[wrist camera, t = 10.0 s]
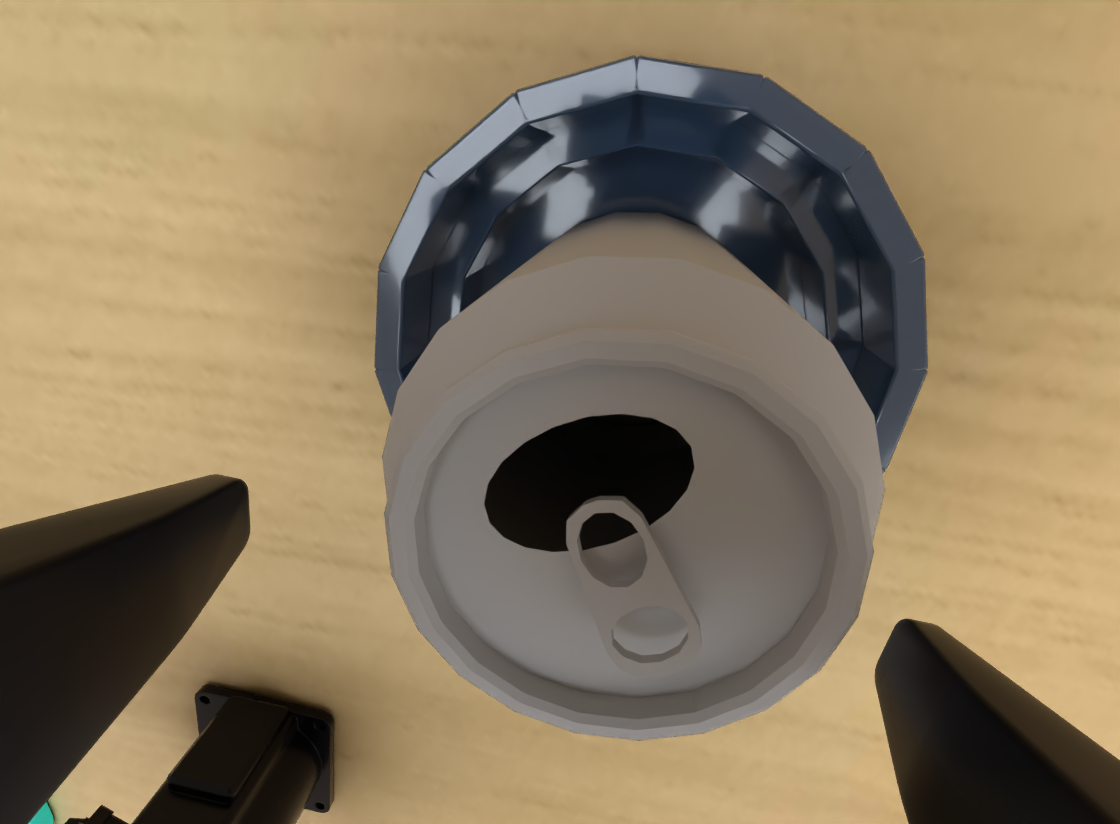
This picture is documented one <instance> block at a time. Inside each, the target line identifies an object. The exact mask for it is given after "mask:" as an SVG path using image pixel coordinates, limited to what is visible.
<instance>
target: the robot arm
mask: <svg viewBox="0 0 1120 824" xmlns="http://www.w3.org/2000/svg"><path fill="white" fill-rule="evenodd" d="M249 534H250V514H249V494H248V487H247V485H246V483H245V482H244V481H243V480H241V479H237V478H233V477H228V476H223V475H218V474H213V475H209V476H205V477H201V478H197V479H193V480H189V481H185V482H181V483H177V484H174V485H170V486H166V487H162V488H158V489H154V490H150V491H146V492H142V493H138V494H134V495H131V496H127V497H123V498H119V499H115V500H111V501H107V502H103V503H99V504H95V505H91V506H88V507H84V508H80V509H76V510H72V511H68V512H64V513H60V514H56V515H52V516H49V517H45V518H41V519H37V520H33V521H29V522H25V523H21V524H17V525H13V526H9V527H6V528H2V529H0V824H28V823H29V822H30V821H31V820H32V818H33V817H34V816H35V815H36V814H37V812H38V811H39V810H40V809H41V808H42V806H43V805H44V804H45V803H46V802H47V800H48V799H49V798H50V797H51V796H52V794H53V793H54V792H55V791H56V790H57V788H58V787H59V786H60V785H61V784H62V782H63V781H64V780H65V779H66V778H67V776H68V775H69V774H70V773H71V772H72V770H73V769H74V768H75V767H76V766H77V764H78V763H79V762H80V761H81V760H82V758H83V757H84V756H85V755H86V754H87V752H88V751H89V750H90V749H91V748H92V746H93V745H94V744H95V743H96V742H97V741H98V739H99V738H100V737H101V736H102V735H103V733H104V732H105V731H106V730H107V729H108V727H109V726H110V725H111V724H112V723H113V721H114V720H115V719H116V718H117V717H118V715H119V714H120V713H121V712H122V711H123V709H124V708H125V707H126V706H127V705H128V703H129V702H130V701H131V700H132V699H133V697H134V696H135V695H136V694H137V693H138V691H139V690H140V689H141V688H142V687H143V685H144V684H145V683H146V682H147V681H148V679H149V678H150V677H151V676H152V675H153V673H154V672H155V671H156V670H157V669H158V667H159V666H160V665H161V664H162V663H163V661H164V660H165V659H166V658H167V657H168V655H169V654H170V653H171V652H172V650H173V649H174V648H175V647H176V645H177V644H178V643H179V642H180V640H181V639H182V638H183V636H184V635H185V634H186V632H187V631H188V629H189V628H190V627H191V625H192V624H193V623H194V621H195V620H196V618H197V617H198V615H199V614H200V612H201V611H202V609H203V608H204V606H205V605H206V603H207V602H208V601H209V599H210V598H211V596H212V595H213V593H214V592H215V590H216V589H217V587H218V586H219V584H220V583H221V581H222V580H223V578H224V577H225V576H226V574H227V573H228V571H229V570H230V568H231V567H232V565H233V564H234V562H235V561H236V559H237V558H238V556H239V555H240V553H241V552H242V551H243V549H244V547H245V546H246V544H247V541H248V538H249ZM875 684H876V689H877V693H878V698H879V702H880V707H881V711H882V716H883V721H884V725H885V730H886V734H887V739H888V743H889V748H890V752H891V757H892V761H893V766H894V770H895V775H896V779H897V784H898V787H899V791H900V795H901V799H902V803H903V806H904V810H905V813H906V816H907V819H908V823H909V824H1120V760H1119V759H1117V758H1116V757H1115V756H1113V755H1112V754H1111V753H1109V752H1108V751H1106V750H1105V749H1104V748H1102V747H1101V746H1100V745H1098V744H1097V743H1096V742H1094V741H1093V740H1092V739H1090V738H1089V737H1088V736H1086V735H1085V734H1083V733H1082V732H1081V731H1079V730H1078V729H1077V728H1075V727H1074V726H1073V725H1071V724H1070V723H1069V722H1067V721H1066V720H1065V719H1063V718H1062V717H1061V716H1059V715H1058V714H1056V713H1055V712H1054V711H1052V710H1051V709H1050V708H1048V707H1047V706H1046V705H1044V704H1043V703H1042V702H1040V701H1039V700H1038V699H1036V698H1035V697H1033V696H1032V695H1031V694H1029V693H1028V692H1027V691H1025V690H1024V689H1023V688H1021V687H1020V686H1019V685H1017V684H1016V683H1015V682H1013V681H1012V680H1011V679H1009V678H1008V677H1006V676H1005V675H1004V674H1002V673H1001V672H1000V671H998V670H997V669H996V668H994V667H993V666H992V665H990V664H989V663H988V662H986V661H985V660H984V659H982V658H981V657H979V656H978V655H977V654H975V653H974V652H973V651H971V650H970V649H969V648H967V647H966V646H965V645H963V644H962V643H961V642H959V641H958V640H956V639H955V638H954V637H952V636H951V635H950V634H948V633H947V632H946V631H944V630H943V629H942V628H940V627H939V626H937V625H934V624H931V623H926V622H922V621H917V620H912V619H903V620H900V621H899V622H898V623H897V624H896V625H895V627H894V629H893V631H892V633H891V635H890V637H889V639H888V641H887V643H886V646H885V648H884V650H883V652H882V654H881V656H880V658H879V660H878V662H877V665H876V669H875ZM195 703H196V712H197V721H198V729H199V737H198V738H197V739H196V741H195V742H194V743H193V744H192V746H191V747H190V748H189V750H188V751H187V752H186V753H185V755H184V756H183V757H182V758H181V760H180V761H179V762H178V764H177V765H176V766H175V767H174V769H173V770H172V771H171V772H170V774H169V775H168V777H167V779H166V781H165V782H164V783H163V784H162V786H161V787H160V788H159V789H158V791H157V792H156V793H155V795H154V796H153V797H152V798H151V800H150V801H149V802H148V803H147V805H146V806H145V807H144V809H143V810H142V811H141V812H140V814H139V815H138V816H137V818H136V819H135V820H134V821H133V823H132V824H296V822H297V820H298V819H299V817H300V815H301V813H302V811H303V809H308V810H312V811H316V812H321V813H325V812H328V811H329V809H330V807H331V805H332V803H333V800H334V718H333V717H332V715H330V714H329V713H327V712H324V711H320V710H316V709H312V708H307V707H303V706H299V705H294V704H290V703H286V702H281V701H277V700H273V699H268V698H264V697H260V696H255V695H251V694H247V693H242V692H238V691H234V690H229V689H225V688H221V687H216V686H212V685H204V686H202V688H201V689H200V690H199V691H198V692H197V693H196V694H195ZM113 813H114V811H112V810H110V809H108V808H107V807H105V806H103V805H101V806H100V807H99V808H98V809H97V810H96V812H95V813H94V814H93V815H92V816H91V817H90V818H87V817H86V819H80V818H69V819H68V821H67V822H66V823H65V824H128V823H126V822H125V821H123V820H121V819H119V818H118V817H116V816H114V815H112V814H113Z"/></svg>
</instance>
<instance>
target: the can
mask: <svg viewBox="0 0 1120 824" xmlns="http://www.w3.org/2000/svg"><path fill="white" fill-rule="evenodd" d="M382 459H383V468H384V476H385V485H386V494H387V504H386V508H385V512H384V517H385V526H386V534H387V543H388V551H389V560H390V568H391V575H392V577H393V579H394V581H395V583H396V585H397V587H398V590H399V592H400V594H401V596H402V598H403V600H404V602H405V604H406V606H407V608H408V610H409V612H410V615H411V617H412V619H413V621H414V623H415V625H416V627H417V629H418V630H419V632H420V633H421V634H422V635H423V636H424V637H425V638H426V639H427V640H428V641H429V643H430V644H431V645H432V646H433V647H434V648H435V649H436V650H437V651H438V652H439V654H440V655H441V656H442V657H443V658H444V659H445V660H446V661H447V662H448V664H449V665H450V666H451V667H452V668H453V669H454V670H455V671H456V672H457V673H458V675H459V676H461V677H462V678H464V679H465V680H467V681H468V682H470V683H471V684H473V685H475V686H476V687H478V688H479V689H481V690H482V691H484V692H485V693H487V694H488V695H490V696H491V697H493V698H494V699H496V700H498V701H499V702H501V703H502V704H504V705H505V706H507V707H508V708H510V709H511V710H513V711H514V712H517V713H520V714H523V715H526V716H528V717H531V718H534V719H537V720H540V721H542V722H545V723H548V724H551V725H554V726H556V727H559V728H562V729H565V730H568V731H570V732H573V733H579V734H587V735H596V736H604V737H612V738H621V739H629V740H638V741H640V740H649V739H658V738H667V737H676V736H685V735H694V734H702V733H706V732H709V731H711V730H714V729H717V728H719V727H722V726H725V725H727V724H730V723H733V722H735V721H738V720H741V719H743V718H746V717H749V716H751V715H754V714H757V713H759V712H762V711H765V710H767V709H769V708H770V707H772V706H773V705H774V704H776V703H777V702H778V701H780V700H781V699H782V698H784V697H785V696H786V695H788V694H789V693H791V692H792V691H793V690H795V689H796V688H797V687H799V686H800V685H801V684H803V683H804V682H805V681H807V680H808V679H809V678H811V677H812V676H813V675H815V674H816V673H817V672H819V671H820V670H821V669H822V667H823V666H824V665H825V663H826V662H827V660H828V659H829V657H830V656H831V655H832V653H833V652H834V650H835V649H836V647H837V646H838V645H839V643H840V642H841V640H842V639H843V637H844V636H845V635H846V633H847V632H848V630H849V629H850V627H851V626H852V625H853V623H854V622H855V620H856V619H857V617H858V615H859V611H860V607H861V603H862V599H863V594H864V590H865V586H866V582H867V578H868V574H869V570H870V566H871V562H872V558H873V554H874V549H873V543H872V542H873V537H874V533H875V529H876V525H877V521H878V517H879V513H880V509H881V504H882V500H883V496H884V492H885V487H884V480H883V473H882V466H881V459H880V452H879V445H878V438H877V432H876V425H875V418H874V414H873V413H872V411H871V409H870V407H869V406H868V404H867V402H866V401H865V399H864V397H863V395H862V394H861V392H860V390H859V388H858V387H857V385H856V383H855V381H854V380H853V378H852V376H851V375H850V373H849V371H848V369H847V368H846V366H845V364H844V362H843V361H842V359H841V357H840V356H839V354H838V352H837V350H836V349H835V347H834V345H833V344H832V343H831V342H829V341H828V340H827V339H826V338H825V337H824V336H823V335H822V334H821V333H819V332H818V331H817V330H816V329H815V328H814V327H813V326H812V325H811V324H809V323H808V322H807V321H806V320H805V319H804V318H803V317H802V316H801V315H799V314H798V313H797V312H796V311H795V310H794V309H793V308H792V307H791V306H789V305H788V304H787V303H786V302H785V301H784V300H783V299H782V298H781V297H779V296H778V295H777V294H776V293H775V292H774V291H773V290H772V289H771V288H770V287H768V286H767V285H766V284H765V283H764V282H763V281H762V280H761V279H760V278H758V277H757V276H756V275H755V274H754V273H753V272H752V271H751V270H750V269H748V268H747V267H746V266H745V265H744V264H743V263H742V262H741V261H740V260H738V259H737V258H736V257H735V256H734V255H733V254H732V253H730V252H729V251H728V250H727V249H726V248H724V247H723V246H722V245H721V244H719V243H718V242H717V241H716V240H715V239H713V238H712V237H711V236H710V235H709V234H707V233H706V232H705V231H704V230H702V229H701V228H700V227H697V226H695V225H692V224H689V223H686V222H684V221H681V220H678V219H675V218H673V217H670V216H667V215H664V214H662V213H647V212H615V213H612V214H608V215H605V216H602V217H599V218H596V219H593V220H590V221H587V222H583V223H580V224H577V225H575V226H574V227H572V228H571V229H570V230H568V231H567V232H565V233H564V234H563V235H561V236H560V237H559V238H557V239H556V240H555V241H553V242H552V243H550V244H549V245H548V246H546V247H545V248H544V249H542V250H541V251H540V252H538V253H537V254H536V255H534V256H533V257H532V258H531V259H529V260H528V261H527V262H525V263H524V264H523V265H521V266H520V267H519V268H518V269H516V270H515V271H514V272H512V273H511V274H510V275H508V276H507V277H506V278H505V279H503V280H502V281H501V282H499V283H498V284H497V285H495V286H494V287H493V288H492V289H490V290H489V291H488V292H486V293H485V294H484V295H482V296H481V297H480V298H479V299H477V300H476V301H475V302H473V303H472V304H471V305H469V306H468V307H467V308H466V309H464V310H463V311H462V312H460V313H459V314H458V315H456V316H455V317H454V318H453V319H451V320H450V321H449V322H447V323H446V324H445V325H443V326H442V327H441V328H440V329H439V330H438V331H437V333H436V334H435V336H434V337H433V339H432V340H431V342H430V343H429V344H428V346H427V347H426V349H425V350H424V352H423V353H422V355H421V356H420V358H419V359H418V361H417V362H416V364H415V365H414V367H413V368H412V370H411V371H410V373H409V374H408V376H407V377H406V379H405V380H404V382H403V383H402V385H401V386H400V388H399V389H398V392H397V396H396V400H395V405H394V409H393V413H392V417H391V422H390V426H389V430H388V434H387V438H386V443H385V447H384V451H383V455H382Z"/></svg>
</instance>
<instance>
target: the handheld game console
mask: <svg viewBox="0 0 1120 824" xmlns="http://www.w3.org/2000/svg"><path fill="white" fill-rule="evenodd" d="M53 822H54V819H53V815H52V813H51V810H50V808H49V806H48V804H47V802H46V803H45V804H44V805H43V806H42V808H41V809H40V810H39V811H38V812H37V814H36V815H35V816H34V817H33V818H32V820H31V821H30V822H29V823H28V824H53Z"/></svg>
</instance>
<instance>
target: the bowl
mask: <svg viewBox="0 0 1120 824" xmlns="http://www.w3.org/2000/svg"><path fill="white" fill-rule="evenodd" d="M615 212H647V213H662V214H664V215H667V216H670V217H673V218H675V219H678V220H681V221H684V222H686V223H689V224H692V225H695V226H697V227H700V228H701V229H702V230H704V231H705V232H706V233H707V234H709V235H710V236H711V237H712V238H713V239H715V240H716V241H717V242H718V243H719V244H721V245H722V246H723V247H724V248H726V249H727V250H728V251H729V252H730V253H732V254H733V255H734V256H735V257H736V258H737V259H738V260H740V261H741V262H742V263H743V264H744V265H745V266H746V267H747V268H748V269H750V270H751V271H752V272H753V273H754V274H755V275H756V276H757V277H758V278H760V279H761V280H762V281H763V282H764V283H765V284H766V285H767V286H768V287H770V288H771V289H772V290H773V291H774V292H775V293H776V294H777V295H778V296H779V297H781V298H782V299H783V300H784V301H785V302H786V303H787V304H788V305H789V306H791V307H792V308H793V309H794V310H795V311H796V312H797V313H798V314H799V315H801V316H802V317H803V318H804V319H805V320H806V321H807V322H808V323H809V324H811V325H812V326H813V327H814V328H815V329H816V330H817V331H818V332H819V333H821V334H822V335H823V336H824V337H825V338H826V339H827V340H828V341H829V342H831V343H832V344H833V345H834V347H835V349H836V350H837V352H838V354H839V356H840V357H841V359H842V361H843V362H844V364H845V366H846V368H847V369H848V371H849V373H850V375H851V376H852V378H853V380H854V381H855V383H856V385H857V387H858V388H859V390H860V392H861V394H862V395H863V397H864V399H865V401H866V402H867V404H868V406H869V407H870V409H871V411H872V413H873V414H874V418H875V425H876V432H877V438H878V445H879V452H880V459H881V466H882V473H884V472H885V469H886V468H887V467H888V465H889V463H890V460H891V458H892V456H893V453H894V451H895V448H896V446H897V444H898V441H899V439H900V437H901V434H902V432H903V429H904V427H905V425H906V422H907V420H908V417H909V415H910V413H911V410H912V408H913V406H914V403H915V401H916V398H917V396H918V394H919V391H920V389H921V387H922V384H923V382H924V379H925V377H926V375H927V370H926V369H927V368H928V352H927V315H926V277H925V259H924V257H923V256H924V252H923V251H922V249H921V247H920V245H919V243H918V241H917V239H916V237H915V235H914V233H913V231H912V230H911V228H910V226H909V224H908V222H907V220H906V218H905V216H904V214H903V212H902V211H901V209H900V207H899V205H898V203H897V201H896V199H895V197H894V195H893V193H892V192H891V190H890V188H889V186H888V184H887V182H886V180H885V178H884V176H883V174H882V173H881V171H880V169H879V167H878V165H877V163H876V161H875V159H874V157H873V155H872V153H871V152H870V151H869V150H867V149H866V147H865V146H864V145H863V144H861V143H860V142H859V141H857V140H856V139H854V138H853V137H852V136H850V135H849V134H847V133H846V132H844V131H843V130H842V129H840V128H839V127H837V126H836V125H835V124H833V123H832V122H830V121H829V120H828V119H826V118H825V117H823V116H822V115H821V114H819V113H818V112H816V111H815V110H814V109H812V108H811V107H809V106H808V105H806V104H805V103H804V102H802V101H801V100H799V99H798V98H797V97H795V96H794V95H792V94H791V93H790V92H788V91H787V90H785V89H784V88H783V87H781V86H780V85H778V84H777V83H776V82H774V81H773V80H771V79H770V78H768V77H765V78H764V77H763V76H762V75H761V74H756V73H749V72H743V71H737V70H730V69H724V68H718V67H711V66H705V65H699V64H692V63H686V62H680V61H674V60H667V59H661V58H655V57H648V56H642V55H640V56H637V57H636V56H630V57H626V58H623V59H620V60H616V61H613V62H609V63H606V64H603V65H599V66H596V67H592V68H589V69H586V70H582V71H579V72H575V73H572V74H569V75H565V76H562V77H559V78H555V79H552V80H548V81H545V82H542V83H538V84H535V85H531V86H528V87H525V88H521V89H518V90H517V91H516V92H515V93H511V94H510V95H509V96H508V97H507V98H506V99H504V100H503V101H502V102H501V103H500V104H499V105H498V106H496V107H495V108H494V109H493V110H492V111H491V112H489V113H488V114H487V115H486V116H485V117H484V118H483V119H481V120H480V121H479V122H478V123H477V124H476V125H475V126H473V127H472V128H471V129H470V130H469V131H468V132H467V133H465V134H464V135H463V136H462V137H461V138H460V139H458V140H457V141H456V142H455V143H454V144H453V145H452V146H450V147H449V148H448V149H447V150H446V151H445V152H444V153H442V154H441V155H440V156H439V157H438V158H437V159H435V160H434V161H433V162H432V163H431V164H430V165H429V166H427V169H426V170H424V171H423V173H422V175H421V177H420V179H419V181H418V183H417V185H416V188H415V190H414V192H413V194H412V196H411V198H410V200H409V203H408V205H407V207H406V209H405V211H404V213H403V215H402V218H401V220H400V222H399V224H398V226H397V228H396V230H395V232H394V235H393V237H392V239H391V241H390V243H389V245H388V247H387V250H386V252H385V254H384V256H383V258H382V260H381V262H380V265H379V271H378V289H377V316H376V343H375V369H376V370H375V373H376V376H377V379H378V381H379V384H380V387H381V390H382V393H383V395H384V398H385V401H386V404H387V407H388V409H389V412H390V415H391V417H392V413H393V409H394V405H395V400H396V396H397V392H398V389H399V388H400V386H401V385H402V383H403V382H404V380H405V379H406V377H407V376H408V374H409V373H410V371H411V370H412V368H413V367H414V365H415V364H416V362H417V361H418V359H419V358H420V356H421V355H422V353H423V352H424V350H425V349H426V347H427V346H428V344H429V343H430V342H431V340H432V339H433V337H434V336H435V334H436V333H437V331H438V330H439V329H440V328H441V327H442V326H443V325H445V324H446V323H447V322H449V321H450V320H451V319H453V318H454V317H455V316H456V315H458V314H459V313H460V312H462V311H463V310H464V309H466V308H467V307H468V306H469V305H471V304H472V303H473V302H475V301H476V300H477V299H479V298H480V297H481V296H482V295H484V294H485V293H486V292H488V291H489V290H490V289H492V288H493V287H494V286H495V285H497V284H498V283H499V282H501V281H502V280H503V279H505V278H506V277H507V276H508V275H510V274H511V273H512V272H514V271H515V270H516V269H518V268H519V267H520V266H521V265H523V264H524V263H525V262H527V261H528V260H529V259H531V258H532V257H533V256H534V255H536V254H537V253H538V252H540V251H541V250H542V249H544V248H545V247H546V246H548V245H549V244H550V243H552V242H553V241H555V240H556V239H557V238H559V237H560V236H561V235H563V234H564V233H565V232H567V231H568V230H570V229H571V228H572V227H574V226H575V225H577V224H580V223H583V222H587V221H590V220H593V219H596V218H599V217H602V216H605V215H608V214H612V213H615Z"/></svg>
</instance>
